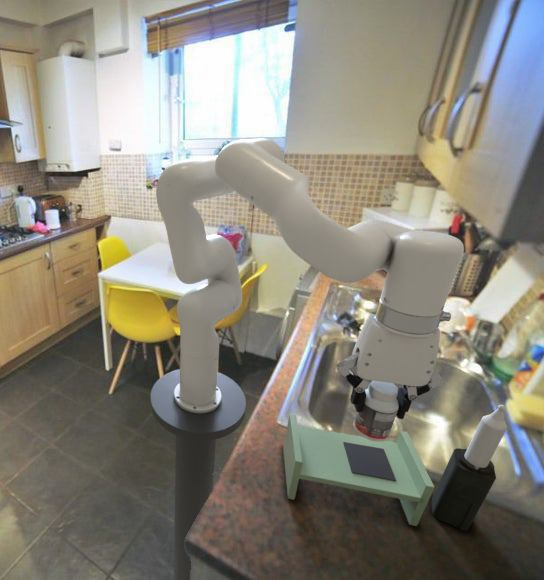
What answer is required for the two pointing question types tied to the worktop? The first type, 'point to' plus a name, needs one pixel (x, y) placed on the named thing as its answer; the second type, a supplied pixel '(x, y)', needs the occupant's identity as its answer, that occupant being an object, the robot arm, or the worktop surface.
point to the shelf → (357, 465)
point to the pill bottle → (377, 411)
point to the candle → (469, 474)
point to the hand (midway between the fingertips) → (376, 408)
